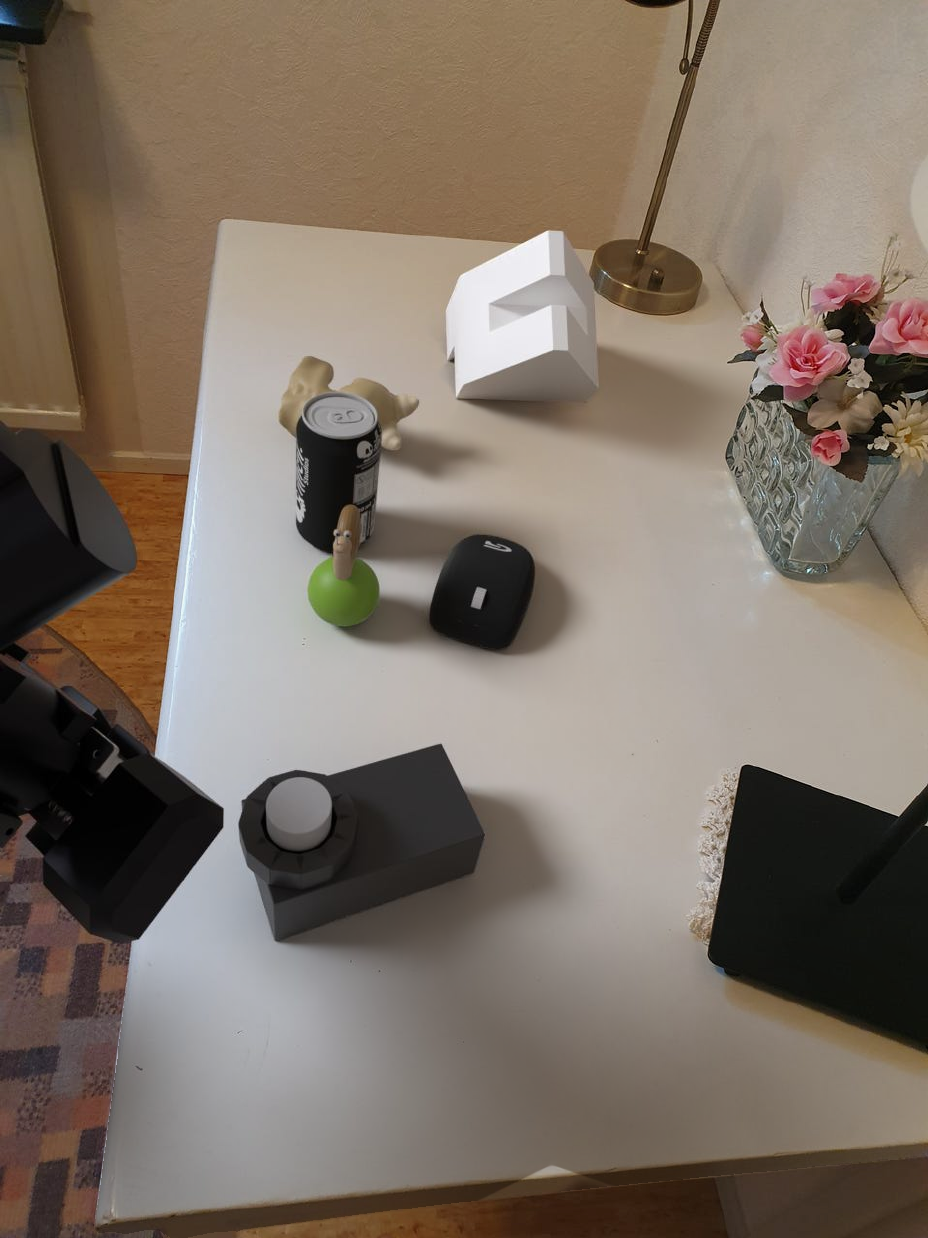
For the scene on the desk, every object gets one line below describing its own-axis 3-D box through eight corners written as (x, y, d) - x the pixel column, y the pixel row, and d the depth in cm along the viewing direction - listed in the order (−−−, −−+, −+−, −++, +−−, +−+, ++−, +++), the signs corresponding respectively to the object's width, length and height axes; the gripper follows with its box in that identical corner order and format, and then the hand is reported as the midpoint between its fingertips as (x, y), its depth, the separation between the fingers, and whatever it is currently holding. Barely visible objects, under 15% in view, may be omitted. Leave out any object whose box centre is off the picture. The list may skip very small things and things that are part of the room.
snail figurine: (300, 646, 70) (301, 528, 61) (312, 586, 74) (315, 467, 65) (372, 654, 70) (383, 538, 61) (380, 594, 75) (391, 477, 66)
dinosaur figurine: (308, 344, 87) (416, 358, 81) (335, 400, 92) (438, 417, 87) (262, 405, 83) (372, 424, 78) (294, 460, 89) (398, 481, 84)
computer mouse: (543, 561, 80) (552, 526, 77) (511, 660, 72) (520, 626, 69) (460, 537, 80) (466, 502, 78) (419, 633, 72) (424, 598, 69)
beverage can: (287, 510, 80) (286, 392, 71) (360, 500, 82) (368, 384, 73) (307, 563, 76) (308, 444, 67) (383, 550, 78) (394, 434, 69)
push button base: (262, 946, 54) (258, 892, 49) (232, 845, 58) (226, 785, 53) (474, 873, 59) (491, 817, 54) (433, 784, 63) (445, 724, 58)
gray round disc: (276, 860, 51) (276, 842, 49) (259, 806, 53) (258, 787, 52) (339, 840, 52) (340, 822, 51) (319, 788, 54) (320, 769, 53)
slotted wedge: (448, 410, 99) (484, 346, 81) (445, 310, 100) (480, 225, 82) (573, 414, 101) (634, 353, 84) (569, 316, 102) (628, 235, 85)
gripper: (-344, 750, 37) (-42, 856, 50) (-159, 1048, 27) (159, 1085, 40) (-141, 536, 39) (96, 689, 52) (95, 736, 30) (318, 865, 42)
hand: (156, 818), depth 47 cm, fingers closed
